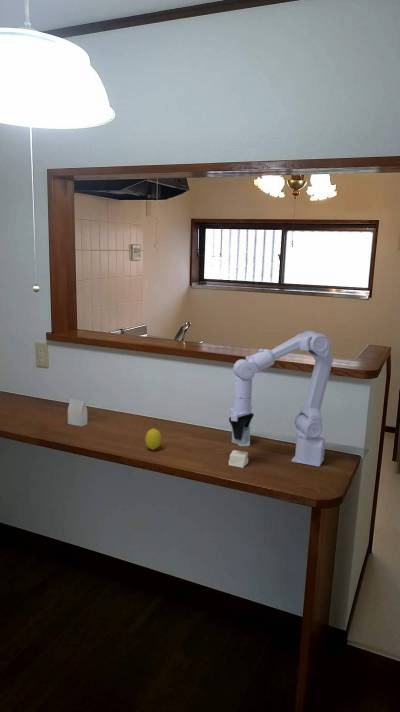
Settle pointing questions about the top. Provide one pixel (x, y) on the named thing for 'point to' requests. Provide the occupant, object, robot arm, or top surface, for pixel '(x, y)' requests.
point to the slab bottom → (238, 463)
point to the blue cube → (244, 436)
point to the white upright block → (77, 412)
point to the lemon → (153, 438)
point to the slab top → (238, 456)
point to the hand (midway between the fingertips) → (240, 436)
